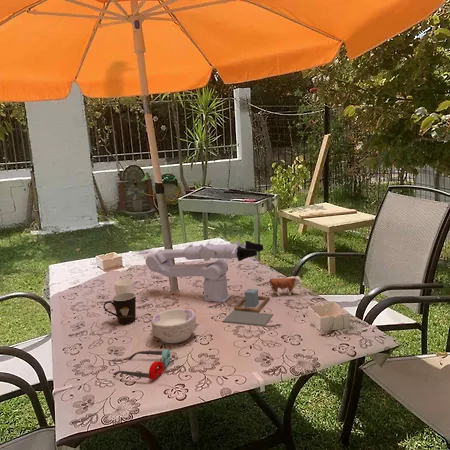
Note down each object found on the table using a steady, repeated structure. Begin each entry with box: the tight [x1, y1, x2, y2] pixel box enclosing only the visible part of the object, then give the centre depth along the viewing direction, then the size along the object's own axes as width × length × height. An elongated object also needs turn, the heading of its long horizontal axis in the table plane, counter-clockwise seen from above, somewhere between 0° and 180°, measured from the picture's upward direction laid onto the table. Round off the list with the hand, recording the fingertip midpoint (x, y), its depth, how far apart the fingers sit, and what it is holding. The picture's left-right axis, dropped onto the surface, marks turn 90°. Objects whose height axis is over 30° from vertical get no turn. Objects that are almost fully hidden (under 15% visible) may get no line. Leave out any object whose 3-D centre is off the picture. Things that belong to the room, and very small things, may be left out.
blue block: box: [244, 288, 260, 308], centre depth 186 cm, size 4×4×6 cm
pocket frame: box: [233, 295, 271, 313], centre depth 186 cm, size 10×14×1 cm
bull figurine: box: [269, 275, 303, 297], centre depth 194 cm, size 4×13×8 cm, turn 78°
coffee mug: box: [102, 292, 137, 326], centre depth 179 cm, size 12×9×10 cm
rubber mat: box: [222, 310, 274, 327], centre depth 174 cm, size 16×10×1 cm, turn 67°
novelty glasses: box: [112, 349, 171, 381], centre depth 142 cm, size 14×15×5 cm
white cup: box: [113, 278, 135, 295], centre depth 196 cm, size 8×8×10 cm
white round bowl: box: [150, 308, 198, 344], centre depth 162 cm, size 15×15×8 cm
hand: (259, 250), depth 184 cm, fingers open, 7 cm apart
